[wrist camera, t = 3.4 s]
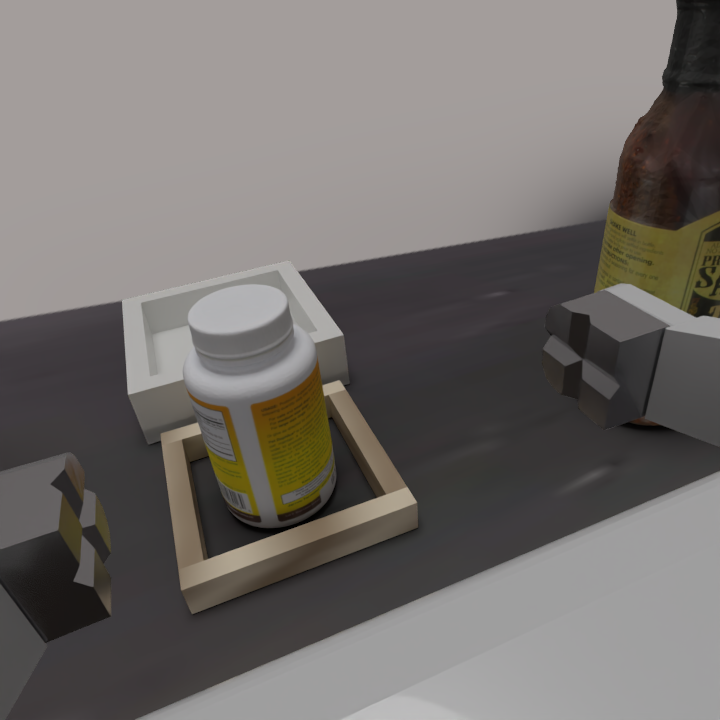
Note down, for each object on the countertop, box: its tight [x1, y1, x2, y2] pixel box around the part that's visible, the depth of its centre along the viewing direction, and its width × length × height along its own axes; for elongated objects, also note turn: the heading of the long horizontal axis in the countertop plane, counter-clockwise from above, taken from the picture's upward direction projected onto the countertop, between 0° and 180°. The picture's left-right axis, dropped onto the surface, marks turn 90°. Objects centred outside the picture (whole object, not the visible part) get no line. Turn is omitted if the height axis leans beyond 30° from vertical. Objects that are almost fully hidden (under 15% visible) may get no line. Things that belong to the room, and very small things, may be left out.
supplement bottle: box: [183, 284, 336, 528], centre depth 25 cm, size 6×6×10 cm
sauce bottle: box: [594, 0, 720, 426], centre depth 26 cm, size 7×6×20 cm
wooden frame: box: [161, 380, 418, 614], centre depth 27 cm, size 10×10×2 cm
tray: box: [122, 261, 350, 445], centre depth 37 cm, size 12×12×4 cm
